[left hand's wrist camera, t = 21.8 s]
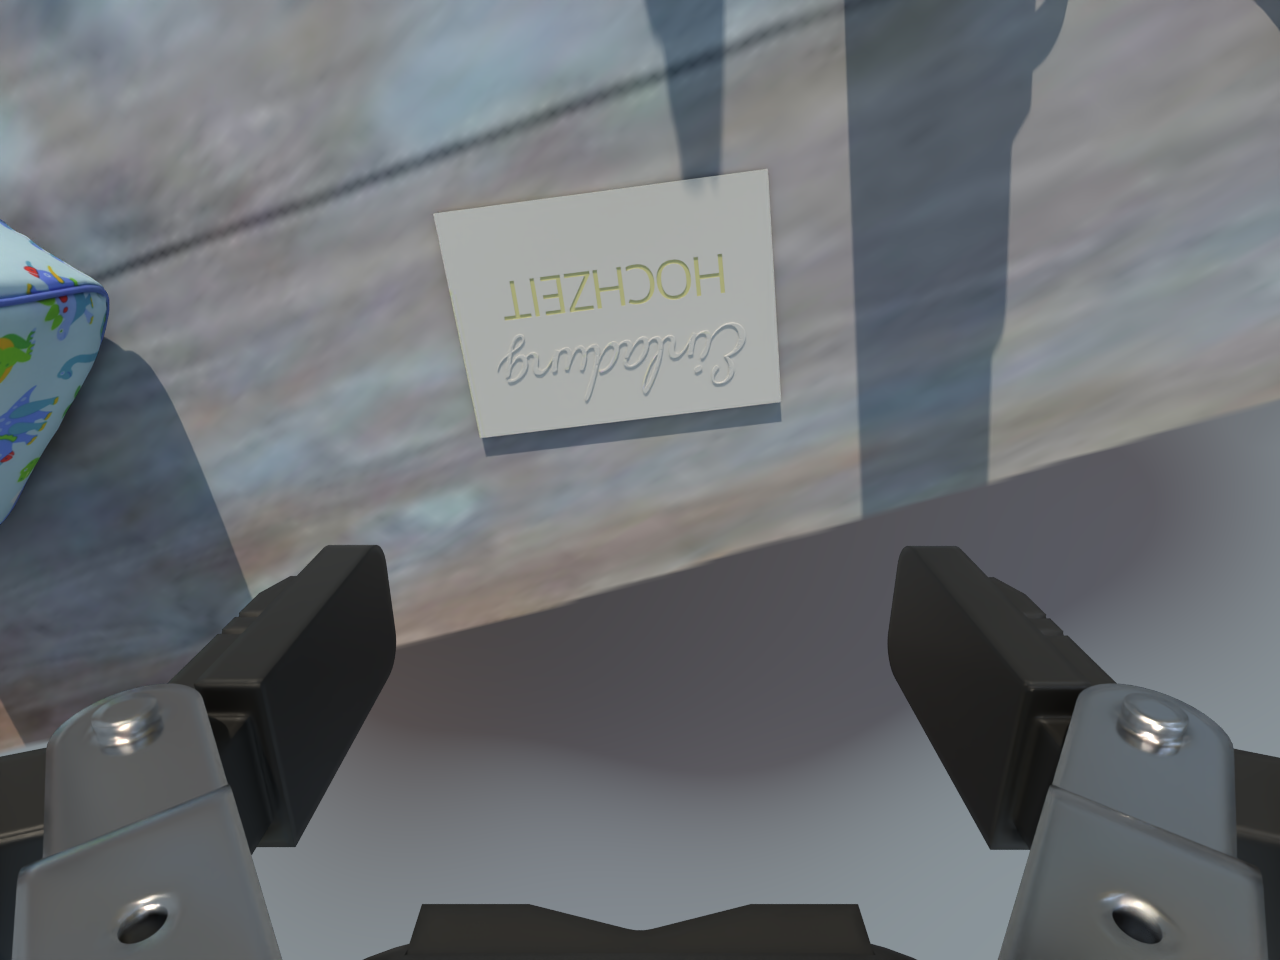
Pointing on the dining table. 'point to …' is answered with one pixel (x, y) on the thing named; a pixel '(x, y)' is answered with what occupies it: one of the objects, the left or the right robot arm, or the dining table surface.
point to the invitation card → (615, 303)
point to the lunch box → (40, 352)
